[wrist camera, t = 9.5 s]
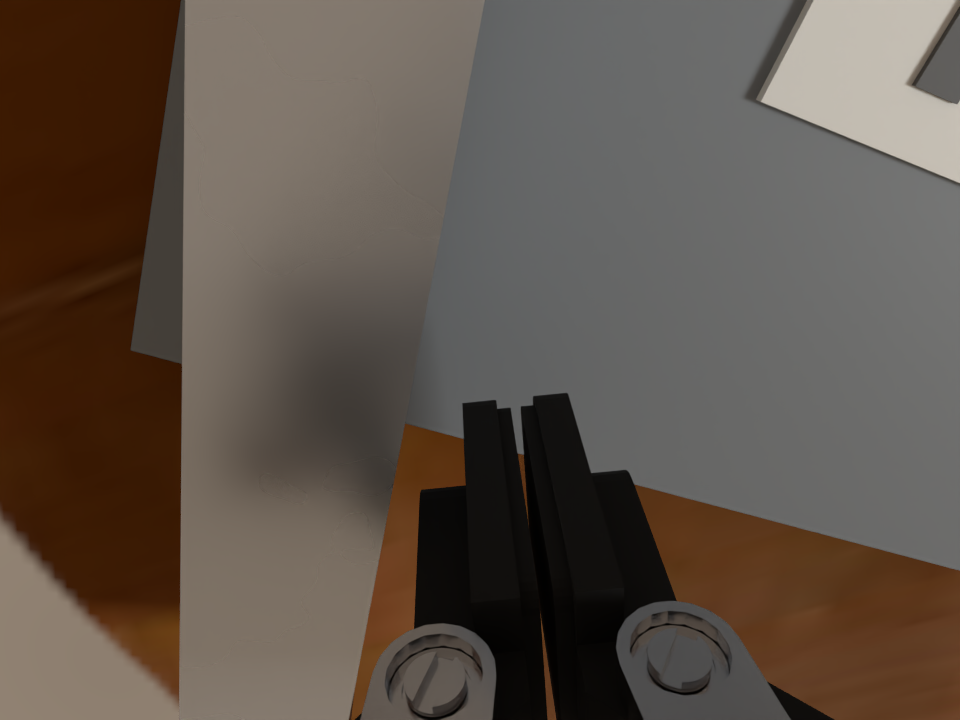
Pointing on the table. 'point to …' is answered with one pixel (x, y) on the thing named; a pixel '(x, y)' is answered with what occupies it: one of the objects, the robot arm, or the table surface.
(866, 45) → the label board
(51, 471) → the table surface
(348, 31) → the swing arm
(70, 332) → the table surface
